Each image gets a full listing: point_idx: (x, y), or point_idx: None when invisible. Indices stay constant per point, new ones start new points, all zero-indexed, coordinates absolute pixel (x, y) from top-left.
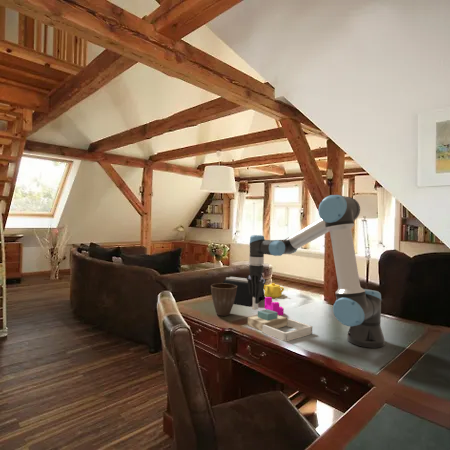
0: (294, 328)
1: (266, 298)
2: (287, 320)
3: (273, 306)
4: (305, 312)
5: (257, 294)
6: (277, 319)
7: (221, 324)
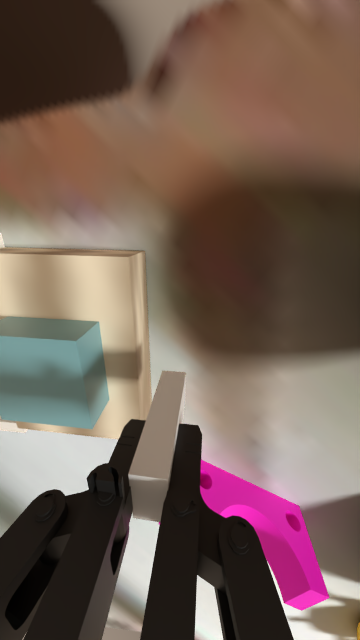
0: None
1: (306, 585)
2: None
3: None
4: (152, 550)
5: (44, 534)
6: None
7: (279, 71)
